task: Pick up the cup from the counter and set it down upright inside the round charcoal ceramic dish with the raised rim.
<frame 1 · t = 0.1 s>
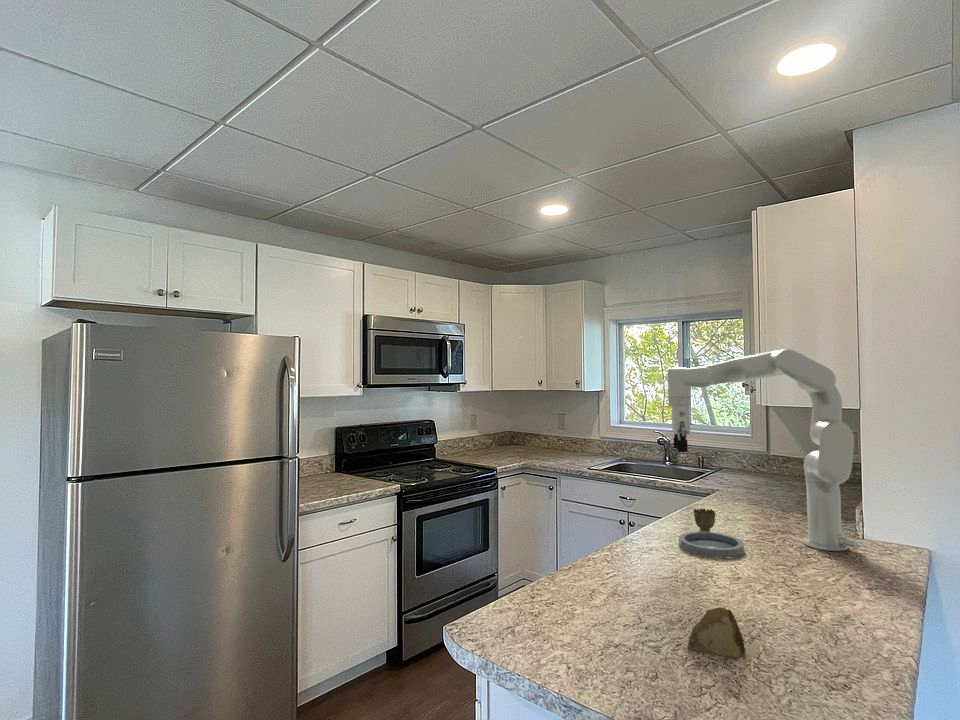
hand: (680, 449, 187), 31 cm above the worktop, tool pointing down, fingers open, 9 cm apart
cup: (705, 532, 192), on the worktop
round dish: (711, 548, 174), on the worktop
rock: (715, 651, 109), on the worktop
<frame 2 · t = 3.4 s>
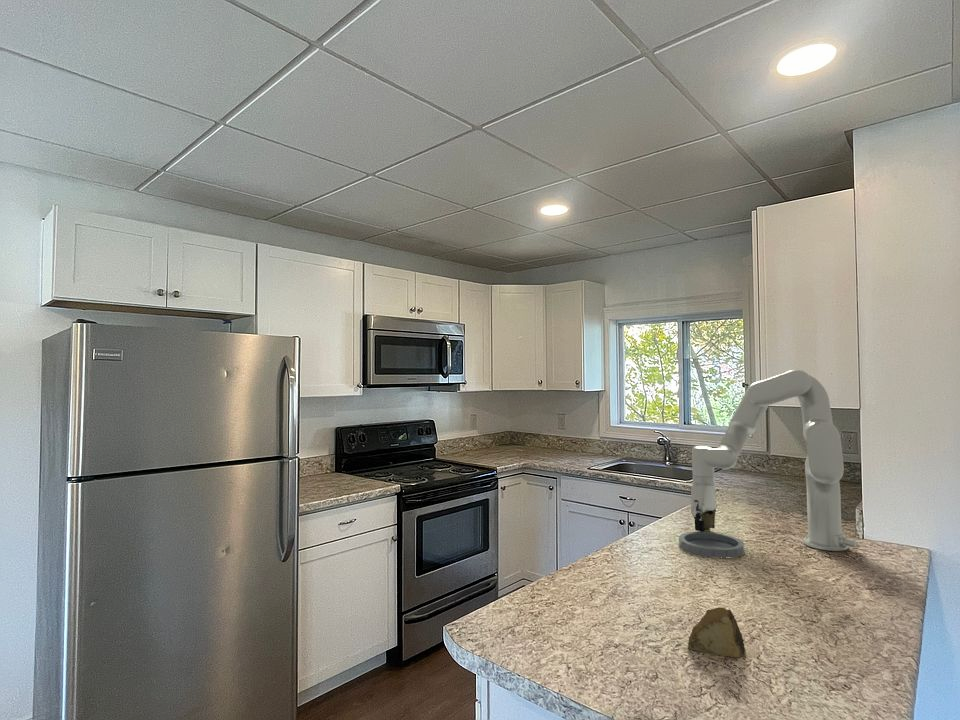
hand: (704, 528, 192), 1 cm above the worktop, tool pointing down, fingers closed on cup, 6 cm apart
cup: (705, 532, 192), on the worktop, touching gripper
everything else where it was.
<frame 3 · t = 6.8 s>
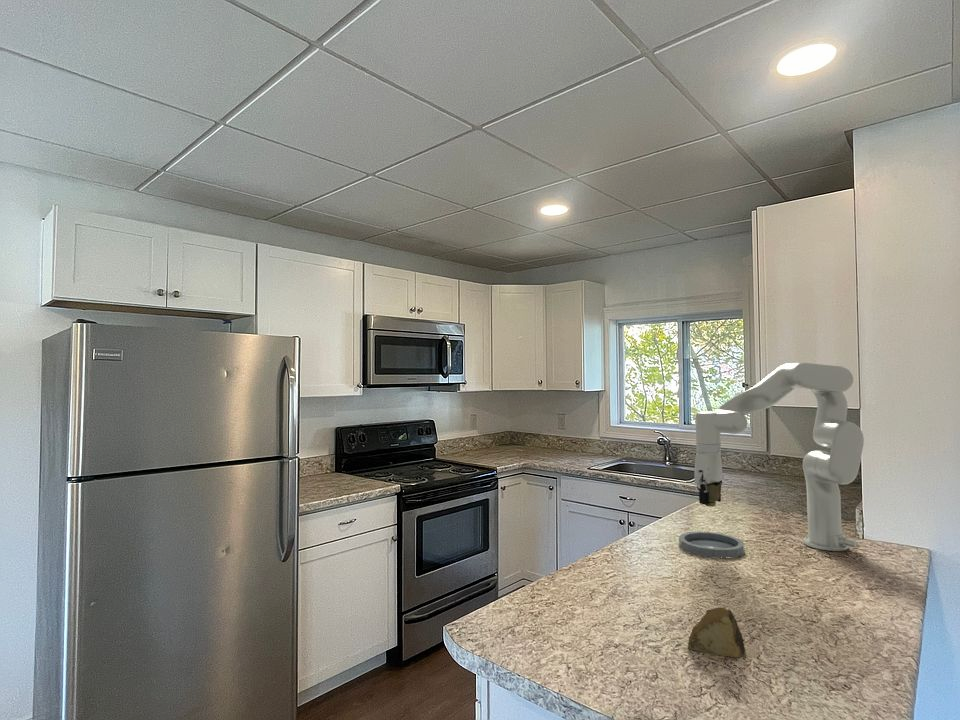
hand: (710, 502, 175), 15 cm above the worktop, tool pointing down, fingers closed on cup, 6 cm apart
cup: (710, 506, 175), point 14 cm above the worktop, touching gripper
everything else where it was.
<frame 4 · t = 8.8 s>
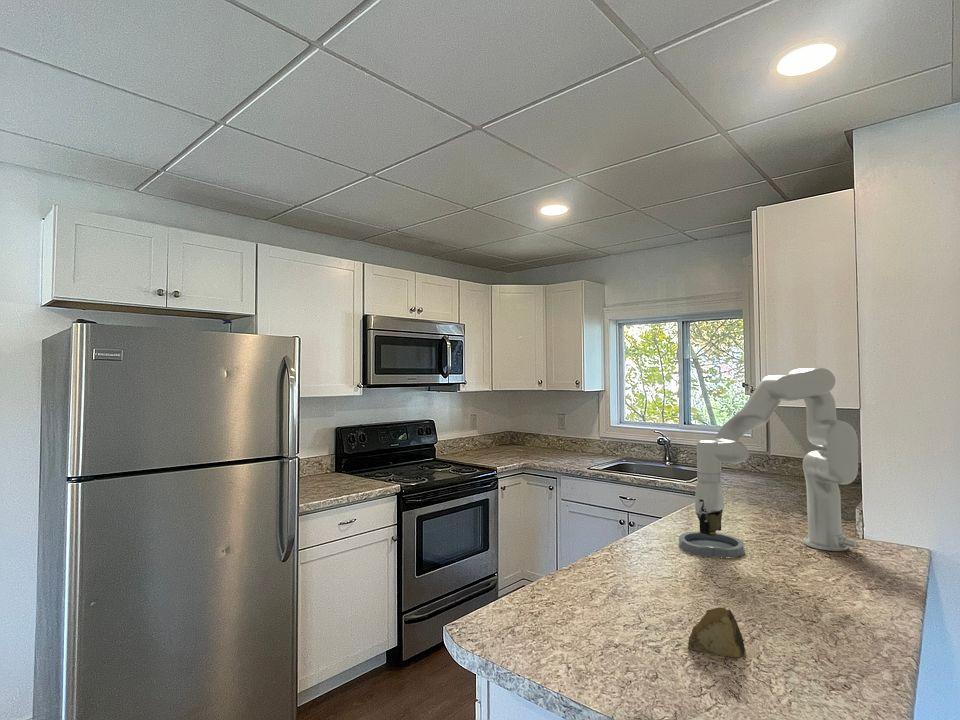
hand: (710, 531, 174), 6 cm above the worktop, tool pointing down, fingers closed on cup, 6 cm apart
cup: (710, 535, 174), point 4 cm above the worktop, touching gripper
everything else where it was.
when the fingers open (3 cm above the worktop, at t = 10.4 s): cup drops 1 cm, resting on round dish.
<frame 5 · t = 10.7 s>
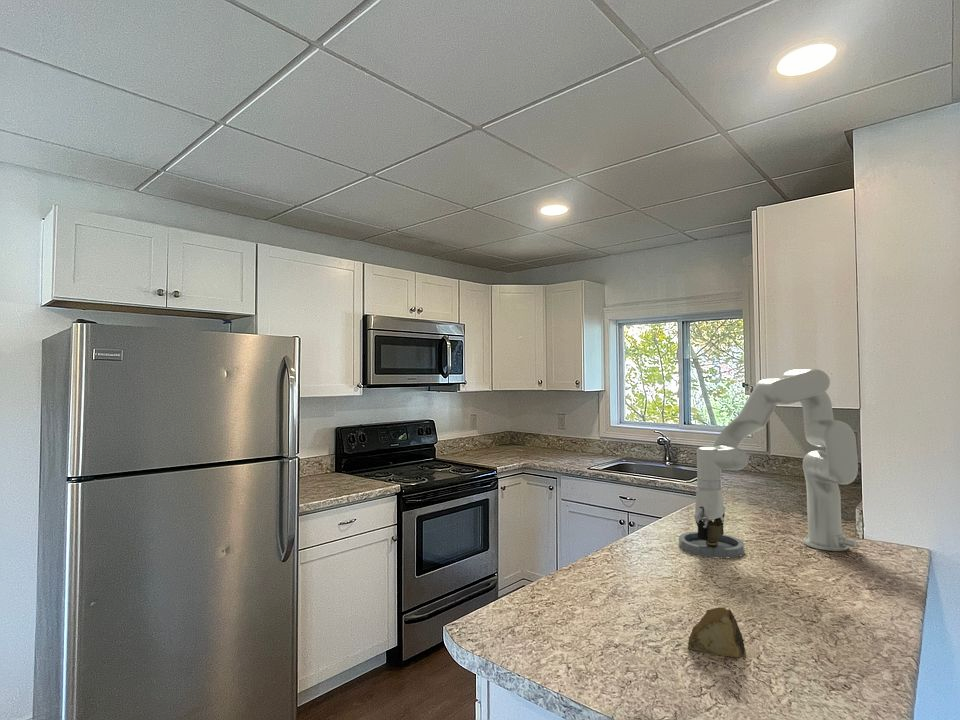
hand: (710, 536, 174), 4 cm above the worktop, tool pointing down, fingers open, 9 cm apart
cup: (711, 546, 174), resting on round dish
everything else where it was.
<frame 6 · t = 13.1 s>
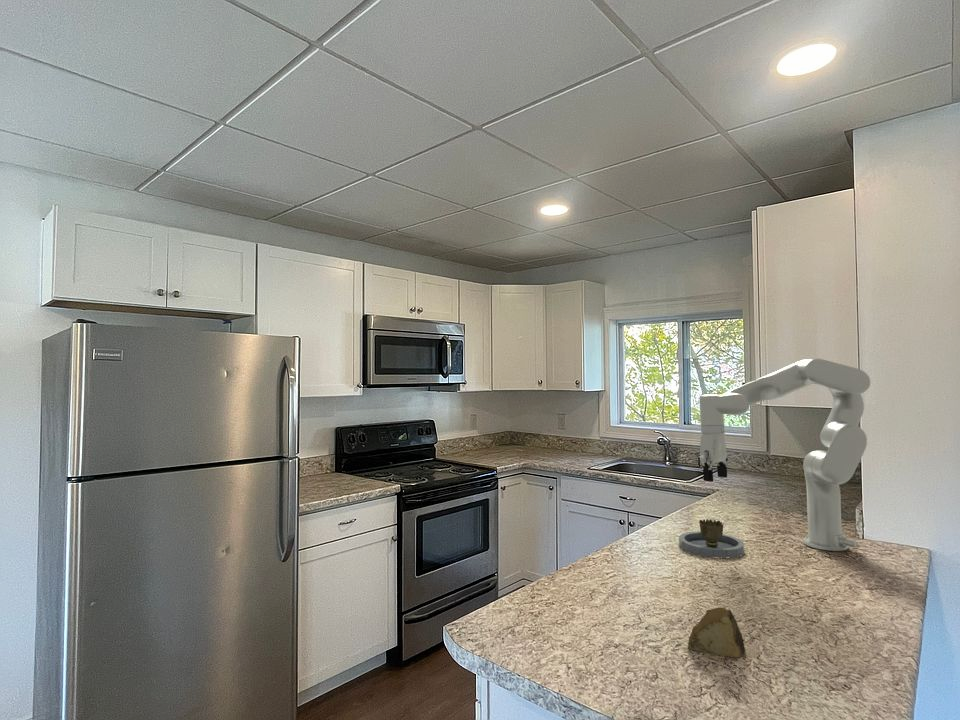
hand: (715, 479, 182), 21 cm above the worktop, tool pointing down, fingers open, 9 cm apart
nothing on the worktop moved.
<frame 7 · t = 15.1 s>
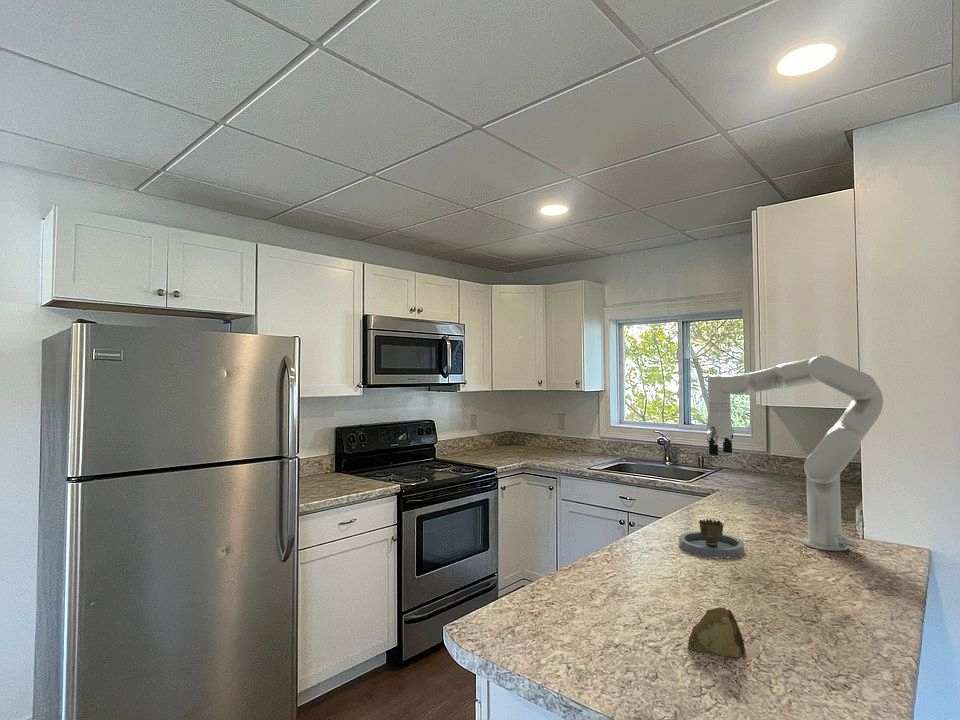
hand: (720, 454, 195), 28 cm above the worktop, tool pointing down, fingers open, 9 cm apart
nothing on the worktop moved.
at the end: cup inside the target area on the round dish (0.5 cm from its centre), point 0.4 cm above the round dish's base; cup tilted 0°; the gripper is holding nothing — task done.
